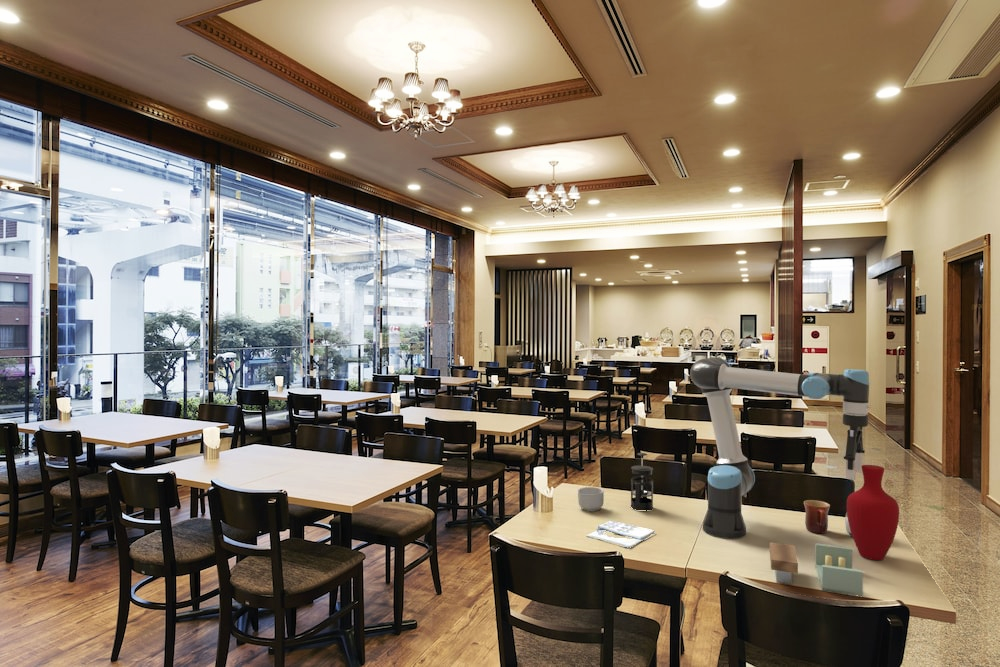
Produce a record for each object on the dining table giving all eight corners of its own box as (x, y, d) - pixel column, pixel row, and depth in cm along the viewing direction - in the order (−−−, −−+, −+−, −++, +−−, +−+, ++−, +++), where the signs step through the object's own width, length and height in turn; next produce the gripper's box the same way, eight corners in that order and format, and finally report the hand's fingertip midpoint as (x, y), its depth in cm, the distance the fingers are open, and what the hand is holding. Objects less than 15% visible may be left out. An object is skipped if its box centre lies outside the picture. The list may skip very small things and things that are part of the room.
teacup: (605, 513, 240) (605, 493, 239) (578, 513, 240) (579, 493, 240) (600, 503, 254) (600, 484, 253) (575, 502, 254) (575, 484, 254)
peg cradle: (822, 590, 170) (822, 566, 170) (815, 564, 188) (815, 543, 188) (862, 597, 166) (862, 572, 166) (851, 570, 184) (851, 547, 184)
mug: (800, 526, 225) (800, 499, 225) (825, 527, 223) (825, 500, 223) (810, 537, 213) (810, 509, 213) (836, 539, 211) (836, 510, 211)
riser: (776, 582, 176) (776, 567, 175) (775, 569, 185) (775, 555, 185) (791, 584, 174) (791, 569, 174) (789, 571, 183) (789, 557, 183)
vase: (842, 545, 205) (843, 459, 204) (892, 552, 199) (893, 463, 199) (849, 561, 191) (850, 469, 191) (903, 568, 185) (904, 474, 185)
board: (771, 569, 174) (771, 559, 174) (769, 551, 188) (769, 542, 187) (797, 573, 171) (797, 563, 171) (794, 555, 185) (794, 545, 185)
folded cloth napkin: (656, 535, 216) (656, 529, 216) (628, 551, 201) (628, 544, 201) (611, 523, 229) (611, 518, 229) (582, 537, 214) (582, 531, 214)
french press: (634, 503, 254) (635, 449, 253) (656, 506, 249) (656, 452, 249) (626, 510, 243) (626, 455, 243) (648, 514, 239) (649, 457, 238)
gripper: (862, 419, 192) (860, 484, 192) (873, 411, 211) (871, 470, 212) (836, 417, 197) (834, 480, 197) (849, 409, 216) (847, 466, 216)
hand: (853, 475), depth 204 cm, fingers open, 13 cm apart
